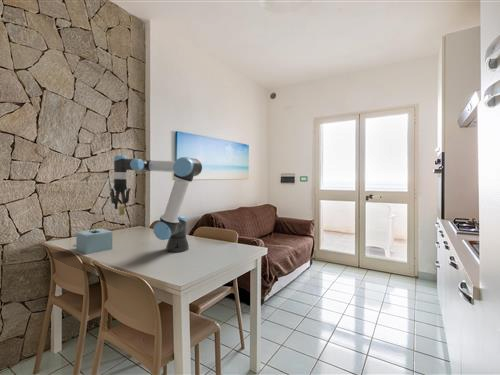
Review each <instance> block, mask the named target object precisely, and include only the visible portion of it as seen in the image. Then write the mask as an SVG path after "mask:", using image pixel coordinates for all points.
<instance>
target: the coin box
mask: <svg viewBox="0 0 500 375" xmlns="http://www.w3.org/2000/svg"><path fill="white" fill-rule="evenodd" d="M105 229H106V228H95V229H88V230H81V231H76V234H75V235H76V237H75V238H76V244H75V245H76V248H75V249H76V251H79V252H81V253H83V254H85V255H89V254H90V255H91V254H94V253H99V252H103V251H104V252H105V251H109V250H113V231H111V230H108V229H106V230H105Z"/></svg>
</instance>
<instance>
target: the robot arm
mask: <svg viewBox="0 0 500 375" xmlns="http://www.w3.org/2000/svg"><path fill="white" fill-rule="evenodd" d="M113 160H114V161H113V170H114V172H113V173H114V174H113V178H114V179H113V187H112V188H111V187H110V188H108V189H109V192H110V200H111V204H114V209H115V215H118V214H119V205H124V206H125V208H124V209H126V205H127V204H128V203H129V200H130V193H131V192H130V191H131V187H130V188H129V187H128V186H127V183H128V181H127V175H128V174H127V172H128V171H140V172H141V171H142V172H143V171H144V172H161V173H162V172H164V173H173V178H174V183H173V185H172V188H171V192H170V194H169V198H168V201H167V204H166V206H165V207H166V208H165V210H164V213H163V214H162V215H161V216H160V217H159V220H158V222H156V223H155V224H154V226H153V234H154V236H155V237H156V238H157V239H159V240H162V241H165V240H168V241H167V242H166V243H167V244H166V245H165V251H166V250H167V251H166V252H169V251H171V252H170V253H181V252H180V251H182V252H186V251H188V250H189V249H190V248H189V246H190V245H189V242H188V239H187V218H186V216H179V214H180V212H181V207H182V205H183V203H184V199H185V196H186V193H187V189H188V186H189V184H190V183H192V182H193V179H194V177H197V176H199V175H200V174H201V172H202V170H203V165H202V162H201V161H200V160H198V159H197V158H192V157H188V156H184V157H183V156H182V157H179V158H177V159H176V160H151V159H149V160H147V159H141V158H128V157H127V156H126V155H114V159H113ZM120 194H121V195H120ZM120 196H121V202H122V203H121V204H119V198H120ZM185 250H186V251H185Z"/></svg>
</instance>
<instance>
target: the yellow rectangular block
mask: <svg viewBox="0 0 500 375" xmlns="http://www.w3.org/2000/svg"><path fill="white" fill-rule="evenodd" d="M125 209H126V208H125V206H124V205H121V204H119V214H117V216H118V215H119V216H123V215H125Z"/></svg>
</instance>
